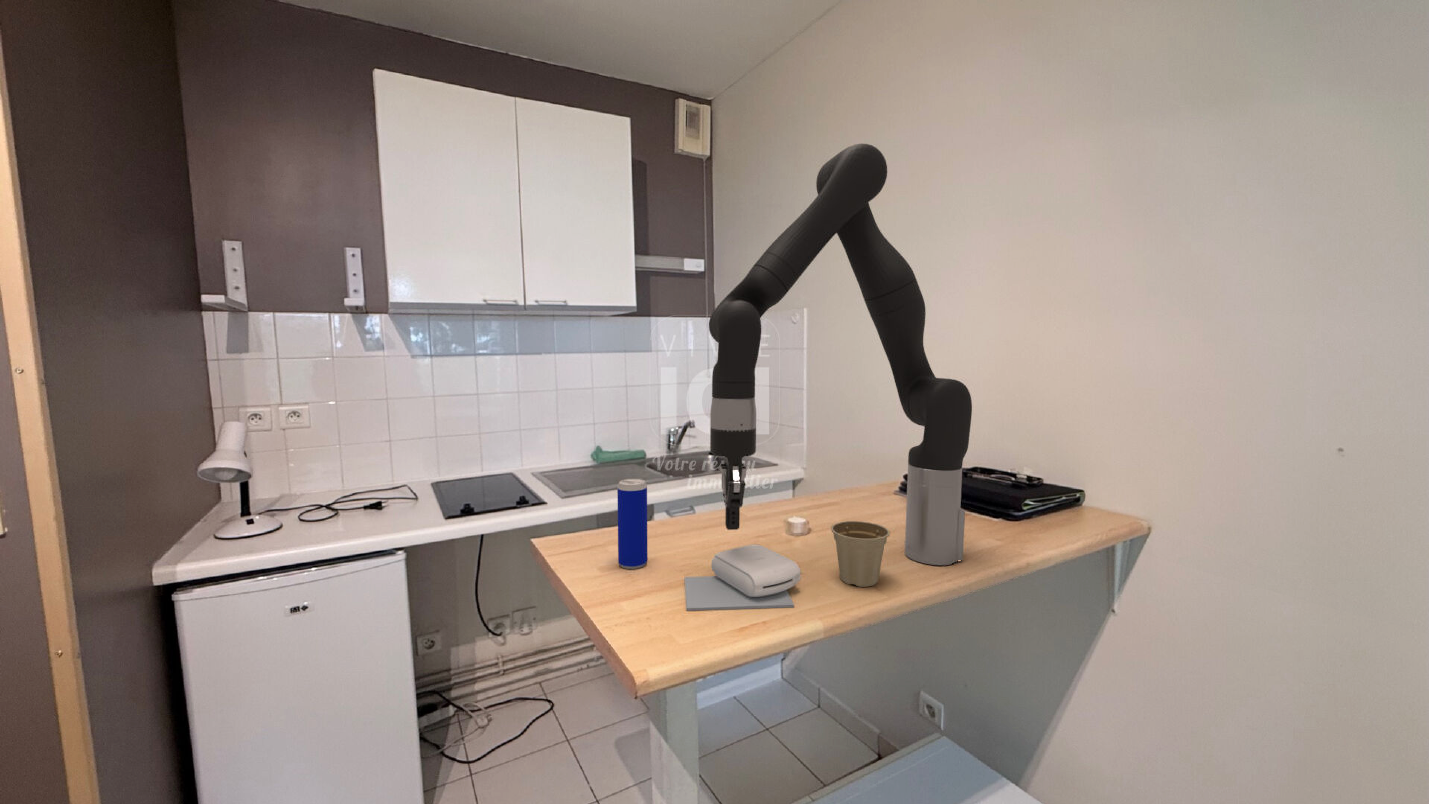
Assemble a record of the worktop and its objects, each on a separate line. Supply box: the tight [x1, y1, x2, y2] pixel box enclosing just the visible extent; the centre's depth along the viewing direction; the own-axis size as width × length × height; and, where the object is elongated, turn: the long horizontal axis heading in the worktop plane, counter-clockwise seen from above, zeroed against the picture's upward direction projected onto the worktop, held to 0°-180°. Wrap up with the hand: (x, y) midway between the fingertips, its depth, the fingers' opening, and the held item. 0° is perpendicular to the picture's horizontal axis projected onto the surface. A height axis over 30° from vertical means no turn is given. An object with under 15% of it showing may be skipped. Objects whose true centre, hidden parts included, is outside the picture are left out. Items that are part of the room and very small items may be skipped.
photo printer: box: [711, 544, 802, 597], centre depth 87 cm, size 10×4×12 cm
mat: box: [684, 575, 795, 612], centre depth 85 cm, size 16×11×1 cm
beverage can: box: [616, 478, 649, 570], centre depth 95 cm, size 5×5×15 cm
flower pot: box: [830, 520, 891, 588], centre depth 90 cm, size 9×9×9 cm
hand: (732, 528), depth 90 cm, fingers closed
